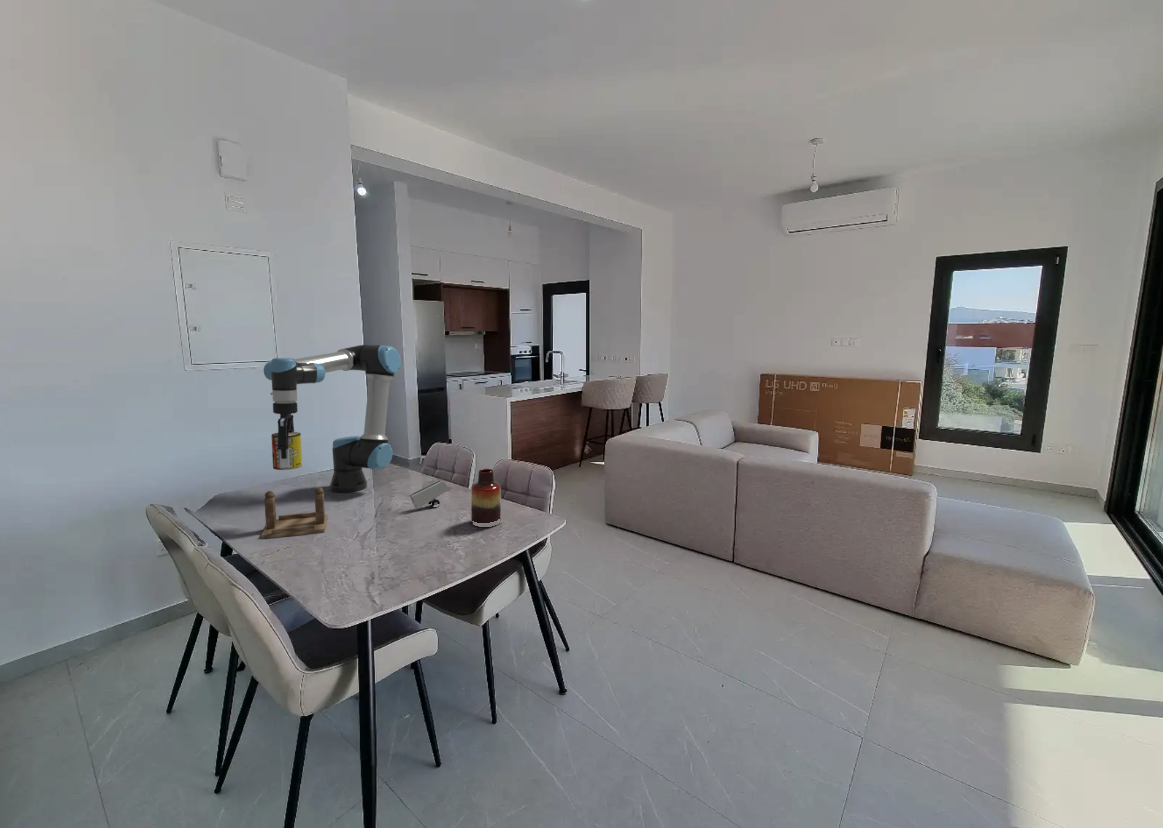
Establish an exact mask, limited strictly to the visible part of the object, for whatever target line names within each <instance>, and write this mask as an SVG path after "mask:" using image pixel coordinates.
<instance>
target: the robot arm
mask: <svg viewBox="0 0 1163 828" xmlns="http://www.w3.org/2000/svg"><path fill="white" fill-rule="evenodd" d="M401 366H402V360H401V355H400V353H399V352H398V350H397V348H395V347H394V346H391V345H381V344H380V345H378V344H360V345H355V346H349V347H345V348H340V349H338V350H337V351H335V352H329V353H324V354H318V355H311V356H305V357H299V358H292V357H275V358H272V359H271V361H268V362H266V364H264V367H263V374H264V375H263V376H264V377H265V378H266V379H267V380H268V381H271V389H272V391H271V392H270V395H271V396H272V401H273V403H272V412H273V414H275V415H279V418H278V419H277V433H278V448H277V450H280V468H288V467H290V466H289V449H288V436H289V432H295V427H294V415H293V414H296V413H298V402H297V401H298V387H297V385H303V384H305V385H306V384H316V383H321V382H323V381H324V379H325V377H326V373H330V372H336V371H343V372H348V371H363V372H365V376H366V377H367V378H368V383H367V384H368V386H367V396H366V406H365V407H366V408H365V417H364V419H365V420H364V430H363V433H362V435H361V436H360V435H353V436H352V435H351V436H345V437H339V438H336V439H334V440H333V442H332V447H331V448H332V449H331V450H332V460H333V461H332V462H333V464H332V465H333V474H332V476H331V481H330V483H329V490H330V491H331V492H334V493H353V492H357V491H362V490H364V489H366V488H367V487H368V480H367V479H366V476H365V473H364V471H363V468H364V469H370V470H383V469H384V468H386V467H387V466H389V464H390V462H392V458H393V456H394V455H393V454H394V451H393V448H392V446H391V444H389V443H388V442H389V438H388V437H387V435H386V426H387V416H388V415H387V414H388V407H389V406H388V404H389V403H388V402H389V396H390V395H389V394H390V383H391V380H393V379H394V378H395V374H396V373H397V372H399V371H400V369H401Z"/></svg>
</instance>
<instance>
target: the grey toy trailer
mask: <svg viewBox="0 0 1163 828" xmlns="http://www.w3.org/2000/svg"><path fill="white" fill-rule="evenodd" d="M448 491H450V488H449V487H448V485H447V484H446V482H445V481H444V480H441V479H437V480H436V481H434V482H431V483H430V484H427V485H425V486H423V487H422V488H420V489H417V490H415V491H413V492H412V493H410V494H408V496H409V498H410V500H411V502H412V504H413V506H414V508H415V509H416V510H418V509H421V508H423V506H426V504H428V505H429V504H431V503H432V506H431V507H433V506H434V505H437V504H440V503H441V502H440V500H439V499H437V498H438V497H440V496H441V495H443V494H444V493H446V492H448Z"/></svg>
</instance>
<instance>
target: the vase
mask: <svg viewBox="0 0 1163 828" xmlns="http://www.w3.org/2000/svg"><path fill="white" fill-rule="evenodd" d="M477 475H478V476H477V477H478V478H477V482H475V483H473V484H472V485H471V488H470V489H471V490H470V491H471V495H470V497H471V499H470V500H471V502H470V503H471V508H470V509H471V513H470V514H471V516H470V517H471V519H472V521H474V522H477V523H490V522H494V521H497V520H498V519H500V520H501V517H500V516H501V515H502V514H501V510H502V509H501V507H502V505H501V500H502V499H501V497H502V496H501V493H502V492H501V491H502V490H501V484H500V483H499V482H496V481H495V476H494V475H495V473H494V470H493V469H491V468H482V469H478V474H477Z"/></svg>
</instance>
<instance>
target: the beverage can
mask: <svg viewBox="0 0 1163 828" xmlns="http://www.w3.org/2000/svg"><path fill="white" fill-rule="evenodd" d="M301 434H302V433H301V432H299V431H294V432H289V436H288V449H289V466H290V467H288V468H280V450H277V448H278V432H273V433H271V453H272V455H271V457H272V469H273V470H277V471H288V470H296V469H299V468H301V467H302V465H303V464H302V463H303V462H302V461H303V460H302V458H303V457H302V437H301Z"/></svg>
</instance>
